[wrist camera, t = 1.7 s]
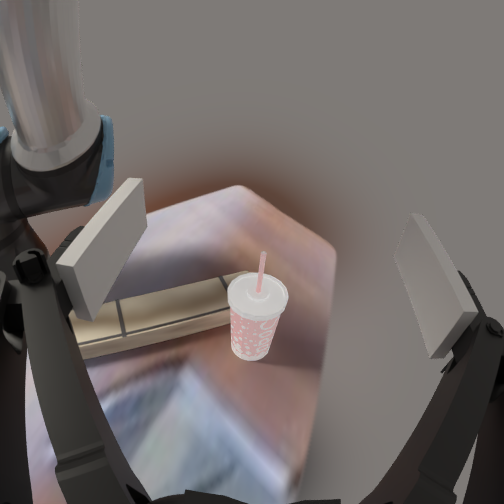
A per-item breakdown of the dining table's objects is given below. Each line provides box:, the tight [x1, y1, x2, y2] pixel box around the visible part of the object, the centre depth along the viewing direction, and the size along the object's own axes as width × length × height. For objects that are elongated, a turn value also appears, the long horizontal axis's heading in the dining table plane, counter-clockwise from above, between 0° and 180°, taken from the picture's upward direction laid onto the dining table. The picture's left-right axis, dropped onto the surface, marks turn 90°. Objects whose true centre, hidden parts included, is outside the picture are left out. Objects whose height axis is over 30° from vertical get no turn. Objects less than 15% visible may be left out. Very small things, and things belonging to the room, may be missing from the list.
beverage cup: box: [227, 251, 289, 361], centre depth 33 cm, size 6×6×14 cm
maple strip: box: [69, 270, 249, 360], centre depth 38 cm, size 6×26×3 cm, turn 115°
